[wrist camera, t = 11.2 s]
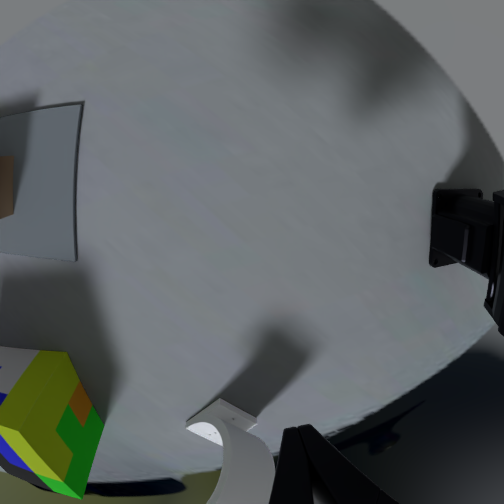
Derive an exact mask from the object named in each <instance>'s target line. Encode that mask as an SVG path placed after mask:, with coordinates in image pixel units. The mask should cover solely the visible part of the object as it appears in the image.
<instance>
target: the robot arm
mask: <svg viewBox="0 0 504 504" xmlns="http://www.w3.org/2000/svg"><path fill="white" fill-rule="evenodd" d="M438 194H439V198H438ZM493 201H494V202H492V201H489V200H485V199H483V193H482V191H481V190H480V189H436V190H435V191H434V192H433V210H432V231H431V245H430V256H429V264H430V266H432V267H434V268H436V267H440V266H445V265H449V264H454V263H460V264H462V265H464V266H465V267H467V268H469V269H471V270H473V271H475V272H476V273H478V274H480V275H482V276H484V277H485V278H487V279H489V283H488V290H487V296H486V299H485V302H484V307H485V308H486V310H487V311H488V312H489V314H490V315H491V316H492V318H493V319H494V321H495V322H496V324H497V325H498V326H499V327H498V331H499V332H500V334H501V335H503V336H504V190H502V191H497V192H493ZM434 260H435V262H434ZM269 504H400V503H398V502H397V501H396V500H394V499H393V498H392V497H390V496H389V495H388V494H387V493H386V492H384V491H383V490H380V488H379V487H378V486H377V485H376V484H375V483H373V482H372V481H371V480H370V479H369V478H368V477H367V476H366V475H364V474H363V473H362V472H361V471H360V470H359V469H358V468H356V467H355V466H354V465H353V464H352V463H351V462H350V461H349V460H348V459H347V458H345V457H344V456H343V455H342V454H341V453H340V452H339V451H338V450H337V449H336V448H335V447H334V446H333V445H332V444H330V442H328V441H327V440H326V439H325V438H324V437H323V436H322V435H321V434H320V433H319V432H318V431H317V430H316V429H315V428H314V427H313V426H312V425H311V424H306V425H301V426H298V427H290V428H285V429H284V431H283V436H282V442H281V447H280V452H279V457H278V462H277V468H276V472H275V477H274V482H273V486H272V491H271V495H270V500H269Z"/></svg>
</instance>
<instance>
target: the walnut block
mask: <svg viewBox="0 0 504 504" xmlns="http://www.w3.org/2000/svg"><path fill="white" fill-rule="evenodd" d="M13 166H14V156H0V219H2V218H5V217H8V216H10V215H13V214H14V213H13Z"/></svg>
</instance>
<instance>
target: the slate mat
mask: <svg viewBox="0 0 504 504" xmlns="http://www.w3.org/2000/svg"><path fill="white" fill-rule="evenodd" d="M82 106H83V105H81V104H80V105H71V106H62V107H55V108H48V109H41V110H35V111H29V112H24V113H19V114H14V115H9V116H4V117H0V156H14V166H13V213H14V214H13V215H10V216H8V217H5V218H2V219H0V253H6V254H13V255H21V256H29V257H37V258H46V259H54V260H63V261H72V262H76V261H77V254H76V236H75V177H76V159H77V147H78V136H79V128H80V120H81V112H82Z"/></svg>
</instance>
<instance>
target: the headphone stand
mask: <svg viewBox="0 0 504 504" xmlns="http://www.w3.org/2000/svg"><path fill="white" fill-rule="evenodd" d="M255 425H257V419H256V417H254V416H252V415H250V414H248V413H246V412H244V411H242V410H241V409H239V408H237V407H235V406H233V405H232V404H230V403H228V402H226V401H224V400H223V399H221V398H219V399H217V400H216V401H215V402H213V403H212V404H211V405H209V406H208V407H207V408H205V409H204V410H202V411H201V412H200V413H198V414H197V415H195V416H194V417H193V418H191V419H190V420H188V421H187V422H186V429H188V430H190V431H192V432H194V433H196V434H198V435H200V436H202V437H204V438H206V439H208V440H210V441H213V442H215V443H217V444H219V445H221V446H223V453H224V454H223V465H222V470H221V474H220V478H219V481H218V483H217V486H216V488H215V490H214V492H213V494H212V496H211V497H210V499H209V500H208V502H207V503H206V504H269V500H270V495H271V491H272V486H273V482H274V477H275V467H274V461H273V457H272V454H271V452H270V450H269V448H268V447H267V445H266V444H265V443H264V442H263V441H262V440H261V439H260V438H258V437H256V436H255V435H252V434H250V433H248V432H246V431H247V430H249V429H251V428H252V427H254V426H255Z"/></svg>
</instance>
